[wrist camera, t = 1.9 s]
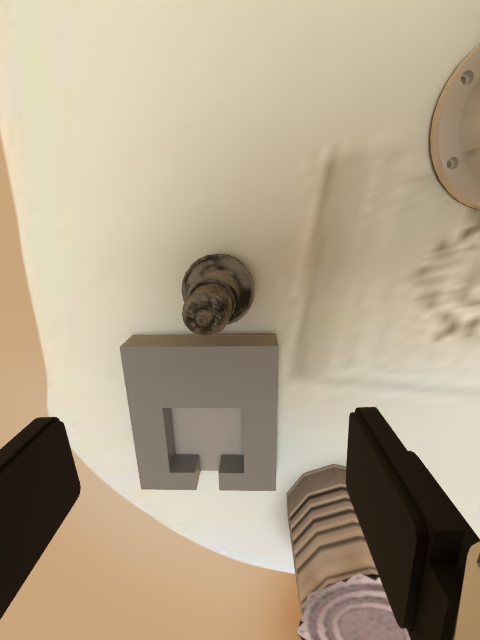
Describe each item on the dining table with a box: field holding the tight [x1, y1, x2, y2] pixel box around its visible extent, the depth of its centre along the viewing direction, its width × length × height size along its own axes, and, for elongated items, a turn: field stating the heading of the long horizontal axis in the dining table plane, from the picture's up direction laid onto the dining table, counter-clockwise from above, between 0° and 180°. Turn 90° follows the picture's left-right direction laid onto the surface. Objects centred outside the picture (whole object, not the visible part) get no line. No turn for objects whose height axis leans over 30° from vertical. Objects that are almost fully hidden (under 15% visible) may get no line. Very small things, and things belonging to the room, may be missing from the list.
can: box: [287, 464, 411, 640], centre depth 29 cm, size 11×11×12 cm
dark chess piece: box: [182, 254, 254, 336], centre depth 22 cm, size 6×6×12 cm
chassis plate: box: [120, 334, 278, 491], centre depth 30 cm, size 16×14×3 cm
